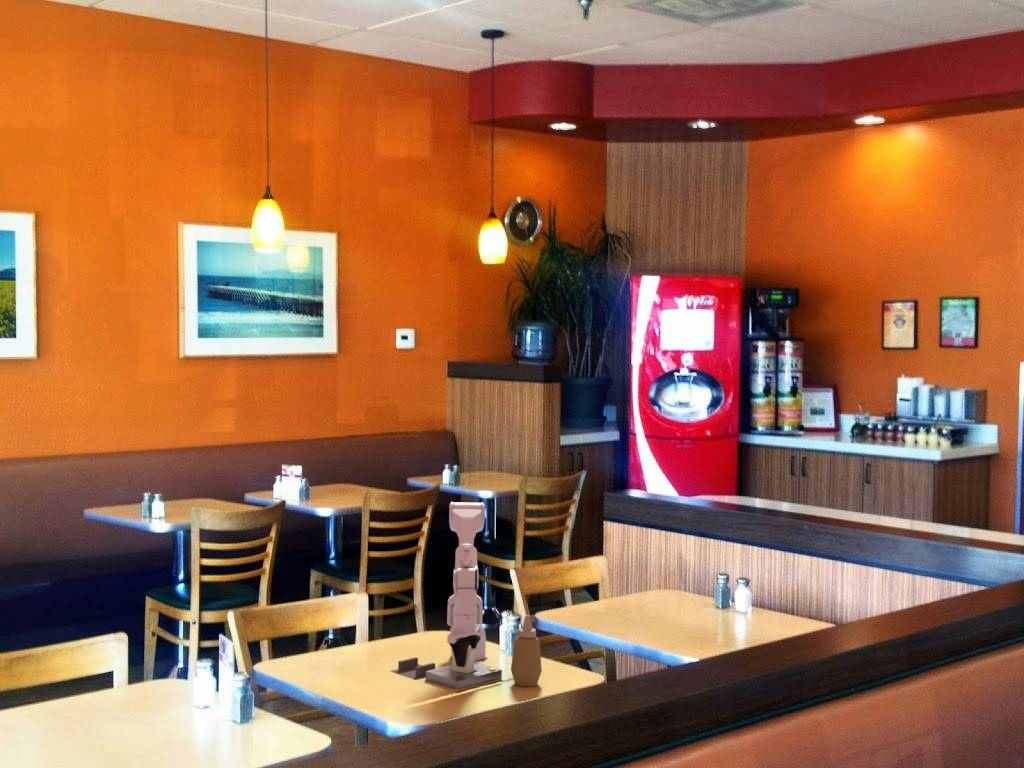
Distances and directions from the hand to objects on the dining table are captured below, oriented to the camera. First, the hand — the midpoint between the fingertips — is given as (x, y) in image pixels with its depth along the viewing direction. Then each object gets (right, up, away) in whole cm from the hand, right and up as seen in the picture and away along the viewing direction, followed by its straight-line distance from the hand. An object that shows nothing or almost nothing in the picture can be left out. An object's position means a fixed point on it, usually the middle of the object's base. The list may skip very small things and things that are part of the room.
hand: (464, 664), depth 330 cm
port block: (0, -5, 0) cm, 5 cm away
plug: (0, -2, 0) cm, 2 cm away
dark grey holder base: (-13, -4, +6) cm, 15 cm away
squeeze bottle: (+16, -5, 0) cm, 17 cm away
